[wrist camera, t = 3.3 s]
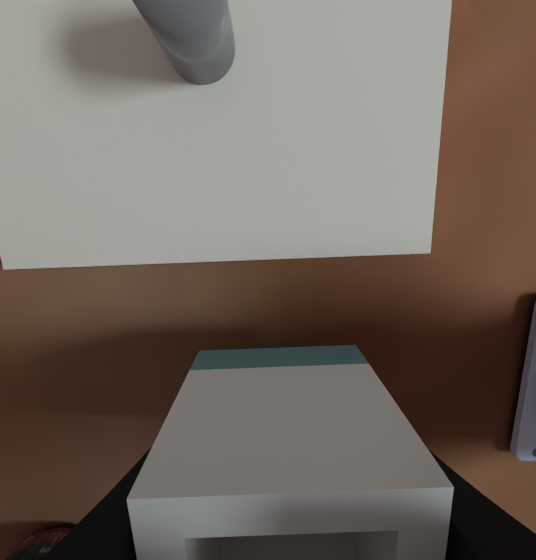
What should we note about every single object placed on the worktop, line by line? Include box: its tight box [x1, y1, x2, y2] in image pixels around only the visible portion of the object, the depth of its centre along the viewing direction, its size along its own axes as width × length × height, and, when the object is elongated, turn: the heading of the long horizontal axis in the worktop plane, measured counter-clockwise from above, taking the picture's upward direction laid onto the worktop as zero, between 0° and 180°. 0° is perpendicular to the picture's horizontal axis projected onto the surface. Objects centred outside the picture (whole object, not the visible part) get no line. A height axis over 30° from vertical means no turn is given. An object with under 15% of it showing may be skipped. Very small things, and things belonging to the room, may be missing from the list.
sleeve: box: [127, 345, 454, 560], centre depth 7 cm, size 5×5×5 cm
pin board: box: [0, 0, 452, 270], centre depth 8 cm, size 16×14×4 cm
